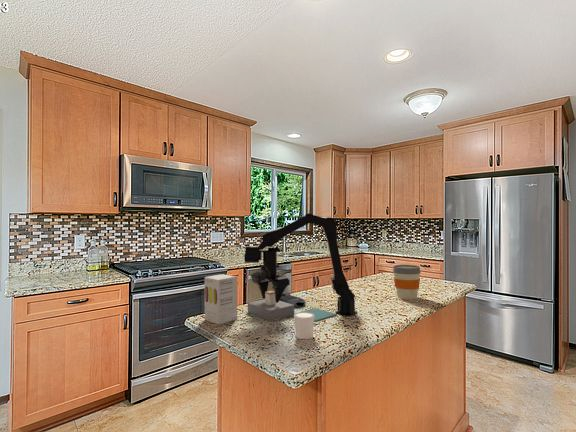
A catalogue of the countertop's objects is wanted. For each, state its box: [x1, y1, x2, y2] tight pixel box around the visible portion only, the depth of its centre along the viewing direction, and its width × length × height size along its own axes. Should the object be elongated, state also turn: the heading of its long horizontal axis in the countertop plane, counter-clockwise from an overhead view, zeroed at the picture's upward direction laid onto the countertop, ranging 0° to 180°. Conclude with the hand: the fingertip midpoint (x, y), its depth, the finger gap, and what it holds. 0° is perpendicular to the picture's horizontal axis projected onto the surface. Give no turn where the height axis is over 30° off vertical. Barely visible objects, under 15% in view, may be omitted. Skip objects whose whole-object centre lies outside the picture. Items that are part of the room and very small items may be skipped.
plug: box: [265, 290, 276, 306], centre depth 131 cm, size 3×3×9 cm
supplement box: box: [204, 273, 238, 325], centre depth 124 cm, size 10×9×17 cm
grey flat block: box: [247, 298, 295, 322], centre depth 131 cm, size 16×12×4 cm
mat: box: [294, 307, 337, 323], centre depth 128 cm, size 12×12×1 cm
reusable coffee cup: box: [392, 264, 421, 301], centre depth 155 cm, size 13×13×15 cm
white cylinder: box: [293, 311, 315, 340], centre depth 105 cm, size 7×7×7 cm
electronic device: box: [279, 293, 307, 308], centre depth 146 cm, size 9×6×15 cm
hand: (270, 300), depth 131 cm, fingers open, 9 cm apart
